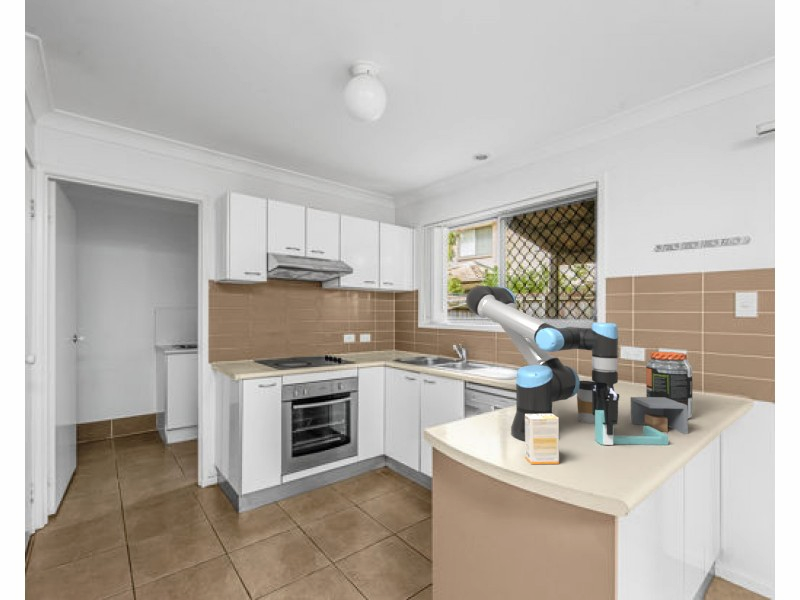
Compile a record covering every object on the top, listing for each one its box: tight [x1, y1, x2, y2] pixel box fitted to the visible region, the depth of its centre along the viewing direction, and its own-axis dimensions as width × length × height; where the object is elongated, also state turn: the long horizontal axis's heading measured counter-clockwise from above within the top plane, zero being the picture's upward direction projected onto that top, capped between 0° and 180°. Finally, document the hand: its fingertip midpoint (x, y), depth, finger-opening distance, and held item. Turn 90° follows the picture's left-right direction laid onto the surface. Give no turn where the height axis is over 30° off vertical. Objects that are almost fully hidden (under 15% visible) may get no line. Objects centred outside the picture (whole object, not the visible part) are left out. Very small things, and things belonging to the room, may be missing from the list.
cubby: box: [630, 396, 689, 435], centre depth 142 cm, size 13×12×10 cm
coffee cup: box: [576, 380, 596, 424], centre depth 151 cm, size 8×8×15 cm
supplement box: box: [524, 413, 560, 465], centre depth 110 cm, size 8×5×13 cm, turn 92°
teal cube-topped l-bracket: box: [594, 410, 669, 446], centre depth 129 cm, size 22×11×10 cm, turn 89°
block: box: [644, 414, 668, 433], centre depth 140 cm, size 5×5×5 cm
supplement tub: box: [645, 351, 694, 419], centre depth 160 cm, size 16×16×26 cm
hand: (604, 441), depth 126 cm, fingers closed on teal cube-topped l-bracket, 4 cm apart
